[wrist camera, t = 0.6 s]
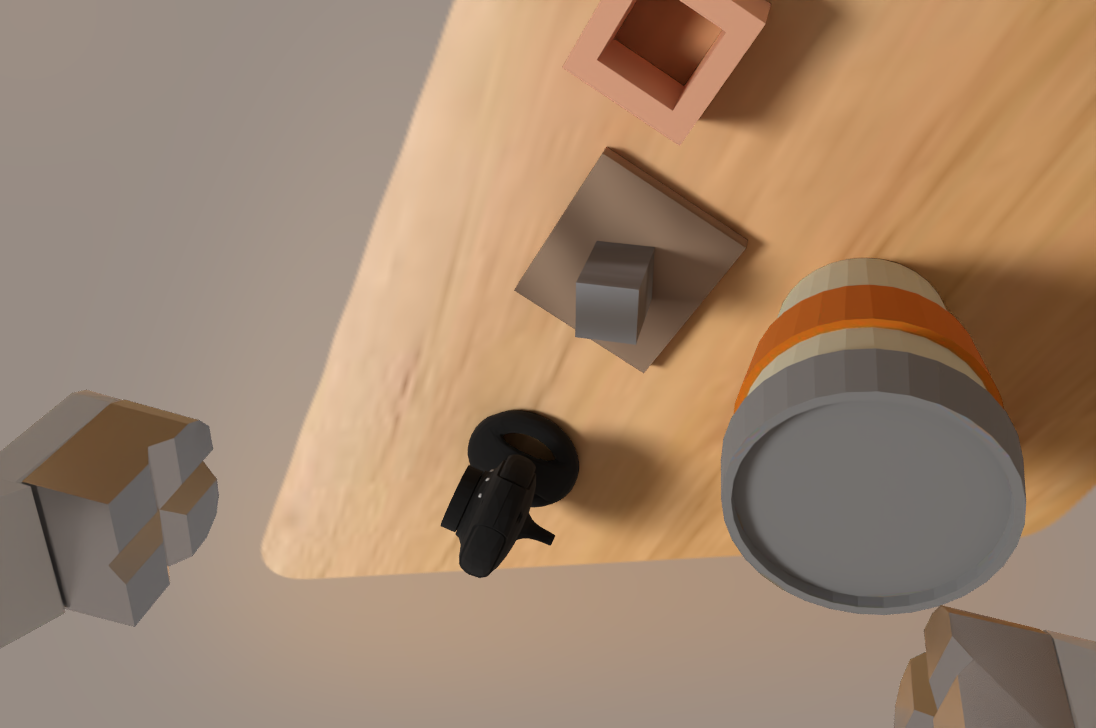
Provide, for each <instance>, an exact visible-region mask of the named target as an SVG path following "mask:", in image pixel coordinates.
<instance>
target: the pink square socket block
mask: <svg viewBox="0 0 1096 728" xmlns="http://www.w3.org/2000/svg"><path fill="white" fill-rule="evenodd" d="M636 1H637V0H601V1H600V2H599V4H598V6H597V8H596V9H595V11H594V13H593V15H592V16H591V18H590V20H589V21H588V23H587V25H586V27H585V28H584V30H583V32H582V34H581V35H580V37H579V39H578V40H577V42H576V44H575V46H574V47H573V49H572V51H571V53H570V54H569V56H568V58H567V60H566V61H565V63H564V65H563V66H562V68H564V69H565V70H567V71H568V72H570V73H571V74H573V75H574V76H576V77H577V78H579V79H580V80H582V81H583V82H585V83H586V84H588V85H589V86H591V87H592V88H594V89H595V90H597V91H598V92H600V93H601V94H603V95H604V96H606V97H607V98H609V99H610V100H612V101H613V102H615V103H616V104H618V105H619V106H621V107H622V108H624V109H625V110H627V111H628V112H630V113H631V114H633V115H634V116H636V117H637V118H639V119H640V120H642V121H643V122H645V123H646V124H648V125H649V126H651V127H652V128H654V129H655V130H657V131H658V132H660V133H661V134H663V135H664V136H666V137H667V138H669V139H670V140H672V141H673V142H675V143H676V144H678V145H679V146H680V145H681V144H682V142H683V141H684V139H685V138H686V136H687V135H688V134H689V132H690V131H691V129H692V128H693V126H694V125H695V124H696V122H697V121H698V119H699V118H700V116H701V115H702V114H703V112H704V111H705V109H706V108H707V107H708V105H709V104H710V102H711V101H712V99H713V98H714V97H715V95H716V94H717V92H718V91H719V89H720V88H721V87H722V85H723V84H724V82H725V81H726V80H727V78H728V77H729V75H730V74H731V72H732V71H733V70H734V68H735V67H736V65H737V64H738V62H739V61H740V60H741V58H742V57H743V55H744V54H745V52H746V51H747V50H748V48H749V47H750V45H751V44H752V43H753V41H754V40H755V38H756V37H757V35H758V34H759V33H760V31H761V30H762V28H763V27H764V25H765V24H766V21H767V17H768V13H769V10H770V6H771V4H770V3H769V2H768V1H766V0H680V1H681V2H683V3H684V4H686V5H687V6H688V7H690V8H691V9H693V10H694V11H696V12H697V13H699V14H700V15H702V16H703V17H705V18H706V19H708V20H709V21H710V22H712V23H713V24H715V25H716V26H718V27H719V28H721V29H722V31H721V33H720V34H719V36H718V37H717V39H716V40H715V42H714V43H713V44H712V46H711V47H710V49H709V50H708V52H707V53H706V55H705V56H704V58H703V59H702V61H701V62H700V64H699V65H698V67H697V68H696V70H695V71H694V73H693V74H692V76H691V77H690V79H689V80H688V82H687V83H686V84H685V86H683V85H682V84H680V83H679V82H677V81H676V80H674V79H673V78H671V77H670V76H668V75H667V74H666V73H664V72H663V71H661V70H660V69H658V68H657V67H655V66H654V65H652V64H651V63H649V62H648V61H646V60H645V59H643V58H642V57H640V56H639V55H637V54H636V53H634V52H633V51H631V50H630V49H628V48H627V47H625V46H624V45H623V44H621V43H620V42H618V41H617V40H615V39H614V37H615V36H616V34H617V32H618V31H619V29H620V27H621V26H622V24H623V22H624V21H625V19H626V17H627V16H628V14H629V12H630V11H631V9H632V7H633V6H634V4H635V2H636Z"/></svg>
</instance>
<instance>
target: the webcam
mask: <svg viewBox="0 0 1096 728" xmlns="http://www.w3.org/2000/svg"><path fill="white" fill-rule="evenodd" d="M508 433H521V434H525V435H528V436H531V437H533V438H535V439H538V440H539V441H541V442H542V443H544V444H545V445H546V446H547V447H548V448H549V449H550V450H551V452H552V453H553V455H554V457H555V460H551V461H546V460H542V459H539V458H535V457H533V456H531V455H528V454H526V453H524V452H522V451H520V450H518V449H516V448H514V447H513V446H511V445H510V444H508V443H507V442H506V441H505V440H504V438H503V436H504V435H505V434H508ZM468 458H469V462H470V465H471V466H470V465H469V466H468V467H467V469H466V471H465V473H464V474H463V476H462V478H461V480H460V482H459V484H458V487H457V489H456V491H455V493H454V495H453V497H452V499H451V502H450V504H449V506H448V508H447V511H446V513H445V515H444V518H443V520H442V523H441V526H442V527H444V528H446V529H449V530H451V531H453V532H456V530H457V532H456V535H457V536H458V537H459V540H460V544H461V547H460V554H459V564H460V567H461V568H462V569H463V570H464V571H465V572H466V573H468V574H469V575H472V576H475V577H478V578H481V577H487V576H488V575H489V574H490V573H491V572H492V571H493V570H495V569H496V568H497V567H498V566H499V565H500V563H501V562H502V561H503V560H504V558H505V557H506V556H507V554H508V553H509V551H510V550H511V548H512V547H513V545H514V543H515V541H516V540H518V539H522V538H530V539H534V540H538V541H540V542H543V543H545V544H548V545H551V544H552V542H553V540H554V537H555V535H554V534H552V533H550V532H549V531H547V530H545V529H543V528H542V527H540V526H539V525H537V524H536V523H535V522H534V521H533V520H532V518H531V516H530V514H529V510H530V507H542V506H546V505H549V504H553V503H555V502H557V501H559V500H561V499H562V498H564V497H565V496H566V495H567V494H568V493H569V492H570V491H571V489H572V488H573V486H574V484H575V482H576V479H577V476H578V472H579V461H578V455H577V452H576V449H575V447H574V445H573V443H572V441H571V440H570V438H569V437H568V436H567V435H566V433H565V432H564V431H563V430H562V429H561V428H559V427H558V426H557V425H556V424H555V423H553V422H551V421H550V420H548V419H546V418H544V417H542V416H540V415H537V414H534V413H531V412H525V411H505V412H501V413H498V414H495V415H492V416H489V417H487V418H486V419H484V420H483V421H482V422H481V423H480V424H479V425H478V426H477V427H476V428H475V430H474V432H473V433H472V435H471V438H470V440H469V445H468ZM471 573H472V574H471Z"/></svg>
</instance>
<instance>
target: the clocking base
mask: <svg viewBox="0 0 1096 728" xmlns="http://www.w3.org/2000/svg"><path fill="white" fill-rule="evenodd" d="M747 241H748V240H747V239H745V238H744V237H742V236H741V235H739V234H737V233H736V232H734V231H733V230H731V229H730V228H728V227H727V226H725V225H724V224H722V223H721V222H719V221H718V220H716V219H715V218H713V217H712V216H710V215H709V214H707V213H706V212H704V211H703V210H701V209H700V208H698V207H697V206H695V205H694V204H692V203H691V202H689V201H688V200H686V199H685V198H683V197H682V196H680V195H679V194H677V193H676V192H674V191H673V190H671V189H670V188H668V187H667V186H665V185H663V184H662V183H660V182H659V181H657V180H656V179H654V178H653V177H651V176H650V175H648V174H647V173H645V172H644V171H642V170H641V169H639V168H638V167H636V166H635V165H633V164H632V163H630V162H629V161H627V160H626V159H624V158H623V157H621V156H620V155H618V154H617V153H615V152H614V151H612V150H611V149H609V148H608V147H606V149H605V150H604V152H603V153H602V155H601V156H600V158H599V159H598V161H597V163H596V164H595V166H594V167H593V169H592V170H591V172H590V173H589V175H588V176H587V178H586V180H585V181H584V183H583V184H582V186H581V187H580V189H579V190H578V192H577V193H576V195H575V197H574V198H573V200H572V201H571V203H570V204H569V206H568V207H567V209H566V210H565V212H564V214H563V215H562V217H561V218H560V220H559V221H558V223H557V224H556V226H555V227H554V229H553V231H552V232H551V234H550V235H549V237H548V238H547V240H546V241H545V243H544V244H543V246H542V248H541V249H540V251H539V252H538V254H537V255H536V257H535V258H534V260H533V261H532V263H531V264H530V266H529V268H528V269H527V271H526V272H525V274H524V275H523V277H522V278H521V280H520V281H519V283H518V285H517V286H516V288H515V291H516V292H518V293H519V294H521V295H522V296H524V297H525V298H527V299H529V300H530V301H532V302H533V303H535V304H536V305H538V306H540V307H541V308H543V309H544V310H546V311H547V312H549V313H550V314H552V315H554V316H555V317H557V318H558V319H560V320H561V321H563V322H565V323H566V324H568V325H569V326H571V327H572V328H574V329H575V337H579V338H587V339H591V340H593V341H594V342H596V343H597V344H599V345H600V346H602V347H604V348H605V349H607V350H608V351H610V352H611V353H613V354H615V355H616V356H618V357H619V358H621V359H622V360H624V361H625V362H627V363H629V364H630V365H632V366H633V367H635V368H636V369H638V370H639V371H641V372H643V373H644V372H645V371H646V370H647V369H648V367H649V366H650V365H651V364H652V363H653V361H654V360H655V359H656V358H657V356H658V355H659V354H660V353H661V352H662V350H663V349H664V348H665V347H666V345H667V344H668V343H669V342H670V341H671V339H672V338H673V337H674V336H675V334H676V333H677V332H678V331H679V330H680V328H681V327H682V326H683V325H684V323H685V322H686V321H687V320H688V319H689V317H690V316H691V315H692V314H693V312H694V311H695V310H696V309H697V308H698V306H699V305H700V304H701V303H702V301H703V300H704V299H705V298H706V297H707V295H708V294H709V293H710V292H711V290H712V289H713V288H714V287H715V286H716V284H717V283H718V282H719V281H720V279H721V278H722V277H723V276H724V275H725V273H726V272H727V271H728V270H729V268H730V267H731V266H732V265H733V264H734V262H735V261H736V260H737V259H738V258H739V256H740V255H741V254H742V253H743V251H744V250H745V249H746V246H747Z"/></svg>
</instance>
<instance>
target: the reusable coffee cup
mask: <svg viewBox="0 0 1096 728" xmlns="http://www.w3.org/2000/svg"><path fill="white" fill-rule="evenodd" d="M721 500H722V508H723V515H724V521H725V523H726V526H727V528H728V531H729V533H730V536H731V538H732V541H733V542H734V543H735V545H736V546H737V548H738V549H739V551H740V552H741V554H742V555H743V557H744V558H745V559H746V560H747V561H748V562H749V563H750V564H751V565H752V566H753V567H754V568H755V569H756V570H757V571H758V572H759V573H760V574H761V575H762V576H764V577H765V578H766V579H768V580H769V581H771V582H772V583H774V584H775V585H776V586H778V587H779V588H781V589H782V590H784V591H786V592H788V593H790V594H792V595H794V596H797V597H799V598H801V599H803V600H805V601H808V602H811V603H814V604H817V605H820V606H823V607H826V608H829V609H834V610H840V611H845V612H851V613H857V614H878V615H888V614H900V613H911V612H916V611H920V610H925V609H929V608H932V607H937V606H940V605H943V604H945V603H948V602H950V601H953V600H955V599H958V598H960V597H962V596H965V595H966V594H968V593H970V592H971V591H973V590H974V589H976V588H978V587H979V586H981V585H982V584H984V583H985V582H987V581H988V580H989V579H990V578H991V577H992V576H993V575H994V574H995V573H996V572H997V571H998V570H999V569H1001V568H1002V567H1003V566H1004V564H1005V563H1006V561H1007V560H1008V559H1009V557H1010V555H1011V554H1012V553H1013V551H1014V549H1015V548H1016V547H1017V545H1018V542H1019V539H1020V536H1021V533H1022V530H1023V528H1024V525H1025V511H1026V493H1025V478H1024V463H1023V455H1022V451H1021V446H1020V442H1019V437H1018V434H1017V432H1016V430H1015V428H1014V426H1013V424H1012V422H1011V420H1010V418H1009V416H1008V414H1007V412H1006V411H1005V410H1004V407H1003V402H1002V398H1001V395H1000V393H999V391H998V389H997V387H996V385H995V384H994V382H993V380H992V378H991V376H990V374H989V372H988V370H987V368H986V366H985V364H984V362H983V360H982V358H981V357H980V355H979V353H978V351H977V349H976V347H975V345H974V343H973V341H972V339H971V337H970V335H969V334H968V332H967V331H966V330H965V329H964V327H963V326H962V325H961V324H960V323H959V321H958V320H957V319H956V318H955V317H954V316H953V315H951V314H950V313H949V312H948V311H947V310H946V308H945V306H944V304H943V302H942V300H941V298H940V296H939V294H938V293H937V292H936V290H935V289H934V288H933V287H932V286H931V285H930V283H929V282H928V281H927V280H925V279H924V278H923V277H921V276H920V275H919V274H917V273H916V272H915V271H913V270H911V269H909V268H907V267H905V266H903V265H901V264H897V263H894V262H890V261H887V260H883V259H873V258H857V259H847V260H842V261H838V262H834V263H831V264H828V265H826V266H824V267H822V268H819V269H817V270H815V271H814V272H812V273H811V274H809V275H808V276H806V277H805V278H803V279H802V280H801V281H800V282H799V283H798V284H797V285H796V286H795V287H794V288H793V289H792V290H791V291H790V293H789V294H788V296H787V297H786V299H785V300H784V302H783V304H782V307H781V310H780V312H779V315H778V317H777V320H776V321H775V322H774V323H773V324H772V325H770V327H769V328H768V330H767V331H766V333H765V334H764V336H763V337H762V339H761V340H760V342H759V344H758V346H757V349H756V351H755V354H754V356H753V359H752V361H751V364H750V366H749V369H748V371H747V374H746V376H745V379H744V381H743V384H742V386H741V389H740V392H739V394H738V397H737V400H736V402H735V408H734V415H733V416H732V418H731V420H730V423H729V426H728V428H727V431H726V434H725V436H724V439H723V447H722V456H721Z"/></svg>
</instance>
